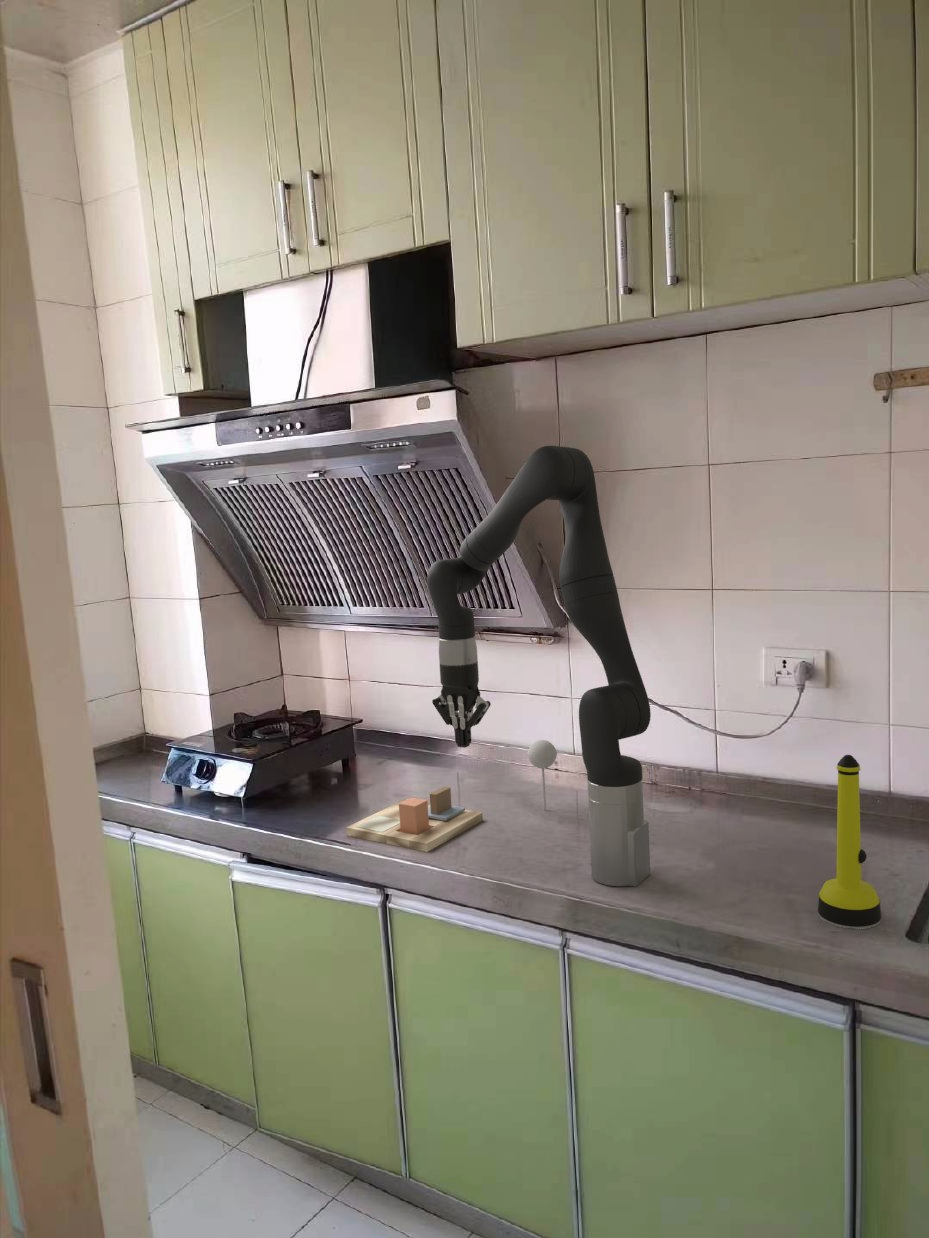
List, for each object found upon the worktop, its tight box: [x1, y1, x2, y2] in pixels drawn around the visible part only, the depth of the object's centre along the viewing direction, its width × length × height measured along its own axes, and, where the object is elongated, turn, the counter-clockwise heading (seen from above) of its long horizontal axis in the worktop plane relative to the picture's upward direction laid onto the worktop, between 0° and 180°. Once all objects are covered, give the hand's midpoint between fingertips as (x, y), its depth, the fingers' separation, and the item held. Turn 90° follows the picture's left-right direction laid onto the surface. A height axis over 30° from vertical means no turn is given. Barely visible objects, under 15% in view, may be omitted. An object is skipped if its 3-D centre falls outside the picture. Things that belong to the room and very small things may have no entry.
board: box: [345, 798, 484, 853], centre depth 189 cm, size 20×19×2 cm
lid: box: [428, 786, 466, 821], centre depth 191 cm, size 7×7×5 cm
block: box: [399, 797, 429, 835], centre depth 184 cm, size 4×4×7 cm
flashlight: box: [817, 754, 882, 930], centre depth 140 cm, size 25×9×9 cm
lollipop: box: [527, 739, 558, 811], centre depth 195 cm, size 6×6×15 cm
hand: (463, 746), depth 186 cm, fingers closed
